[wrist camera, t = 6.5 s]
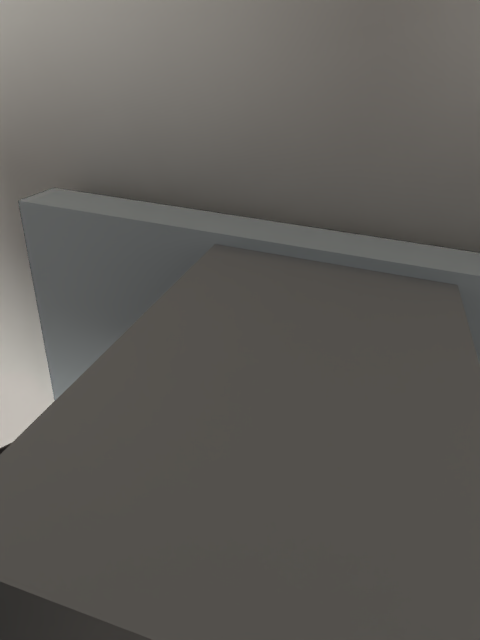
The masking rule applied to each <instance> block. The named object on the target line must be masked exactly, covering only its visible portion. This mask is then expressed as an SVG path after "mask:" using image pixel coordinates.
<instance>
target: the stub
mask: <svg viewBox="0 0 480 640" xmlns="http://www.w3.org/2000/svg"><path fill="white" fill-rule="evenodd" d="M18 203H19V208H20V213H21V219H22V224H23V230H24V235H25V241H26V246H27V252H28V257H29V263H30V268H31V274H32V279H33V285H34V290H35V296H36V301H37V306H38V312H39V317H40V323H41V328H42V334H43V339H44V345H45V350H46V356H47V361H48V367H49V372H50V378H51V383H52V389H53V394H54V399H55V401H54V402H53V403H52V404H51V405H50V406H49V407H48V408H47V409H46V410H45V411H44V412H43V413H42V414H41V415H40V416H39V417H38V418H37V419H36V420H35V421H34V422H33V423H32V424H31V425H30V426H29V427H28V428H27V429H26V430H25V431H24V432H23V433H22V434H21V435H20V436H19V437H18V438H17V439H16V440H15V441H14V442H13V443H12V444H11V445H9V446H8V447H7V448H6V449H5V450H4V451H3V452H2V453H1V454H0V640H480V253H477V252H471V251H464V250H457V249H451V248H444V247H438V246H431V245H425V244H418V243H412V242H405V241H399V240H392V239H386V238H379V237H373V236H366V235H359V234H353V233H346V232H340V231H333V230H327V229H320V228H314V227H307V226H301V225H294V224H288V223H281V222H274V221H268V220H261V219H255V218H248V217H242V216H235V215H229V214H222V213H216V212H209V211H203V210H196V209H190V208H183V207H176V206H170V205H163V204H157V203H150V202H144V201H137V200H131V199H124V198H118V197H111V196H105V195H98V194H92V193H85V192H78V191H72V190H65V189H59V188H52V189H49V190H47V191H44V192H41V193H38V194H35V195H33V196H30V197H27V198H24V199H22V200H19V201H18Z"/></svg>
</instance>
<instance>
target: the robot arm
mask: <svg viewBox="0 0 480 640" xmlns="http://www.w3.org/2000/svg"><path fill="white" fill-rule="evenodd" d="M12 443H13V442H12ZM12 443H10V444H8V445H6V446H4V447H2V448H0V454H1V453H2V452H3V451H4V450H5V449H6V448H7V447H8V446H9V445H11V444H12Z"/></svg>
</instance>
